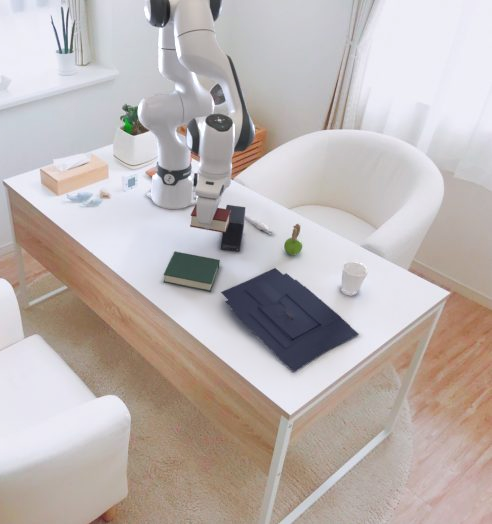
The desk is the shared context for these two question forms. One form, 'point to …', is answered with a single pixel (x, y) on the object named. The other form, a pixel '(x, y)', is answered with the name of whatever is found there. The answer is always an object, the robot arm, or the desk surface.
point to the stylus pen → (259, 225)
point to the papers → (288, 317)
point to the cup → (352, 277)
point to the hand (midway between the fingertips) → (210, 220)
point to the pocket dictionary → (213, 220)
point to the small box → (234, 229)
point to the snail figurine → (293, 242)
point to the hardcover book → (192, 271)
